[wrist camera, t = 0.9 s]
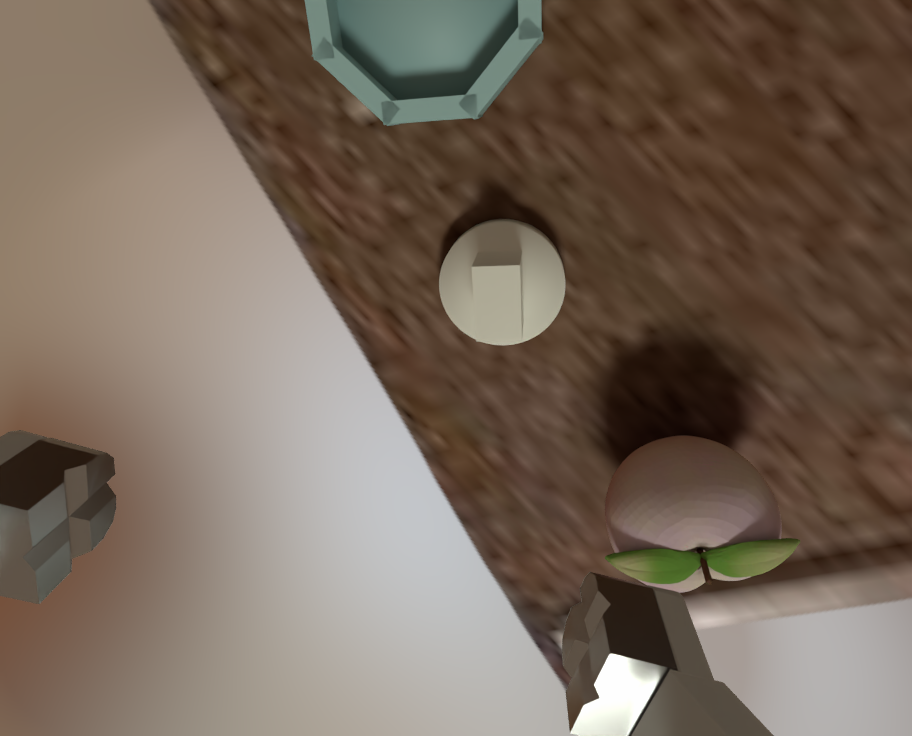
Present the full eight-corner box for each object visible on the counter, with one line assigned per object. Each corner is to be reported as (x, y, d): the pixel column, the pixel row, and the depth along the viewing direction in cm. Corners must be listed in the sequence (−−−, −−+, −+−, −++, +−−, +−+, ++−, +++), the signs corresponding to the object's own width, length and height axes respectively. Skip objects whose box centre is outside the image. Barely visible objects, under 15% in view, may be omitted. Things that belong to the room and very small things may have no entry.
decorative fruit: (724, 380, 33) (793, 484, 24) (759, 487, 35) (833, 616, 26) (572, 429, 36) (582, 539, 27) (616, 525, 38) (638, 653, 29)
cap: (565, 215, 30) (568, 232, 26) (563, 334, 33) (566, 366, 29) (438, 221, 31) (423, 238, 27) (448, 336, 34) (435, 367, 30)
